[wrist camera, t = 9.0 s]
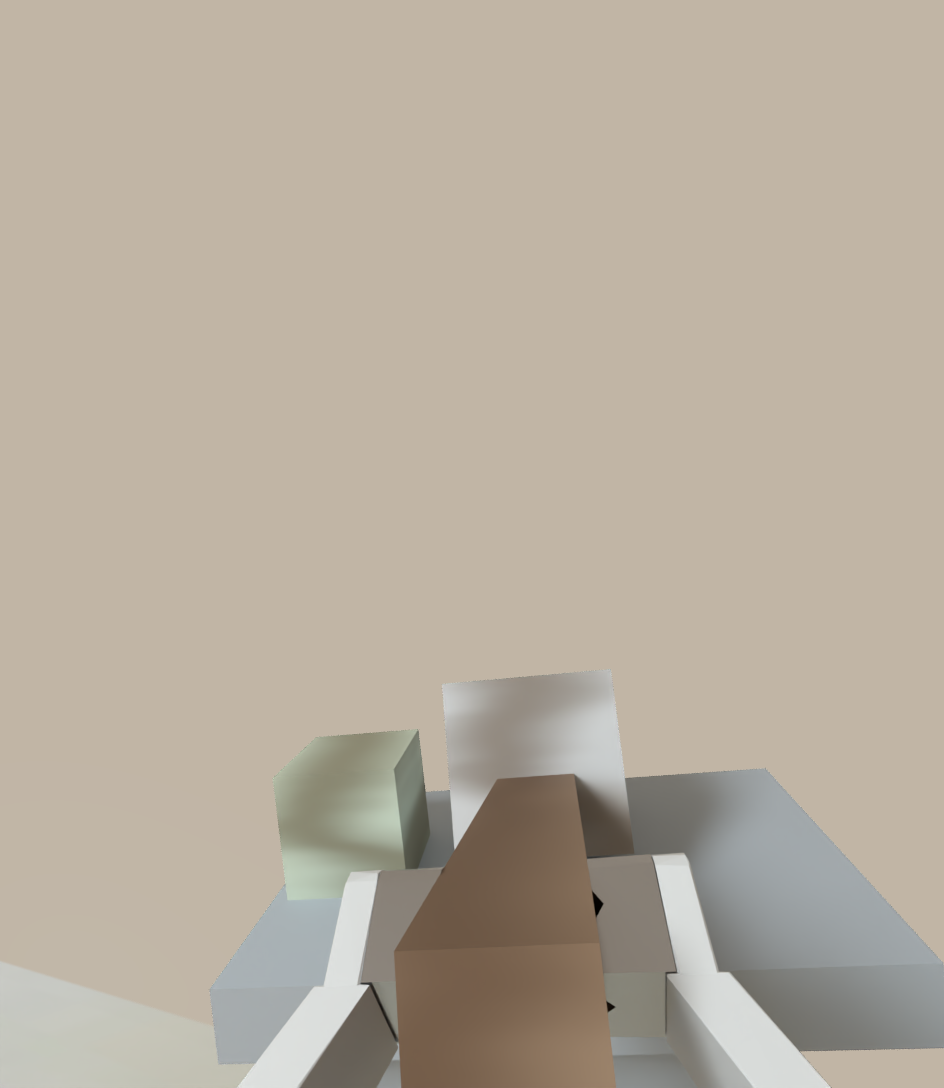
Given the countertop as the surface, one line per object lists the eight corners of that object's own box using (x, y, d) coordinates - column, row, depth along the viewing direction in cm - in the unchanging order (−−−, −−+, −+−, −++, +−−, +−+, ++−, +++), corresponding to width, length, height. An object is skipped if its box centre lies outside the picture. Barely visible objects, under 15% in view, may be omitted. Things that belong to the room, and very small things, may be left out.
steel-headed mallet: (611, 799, 26) (595, 671, 27) (778, 1192, 6) (694, 658, 7) (486, 807, 26) (475, 681, 27) (274, 1193, 7) (266, 697, 8)
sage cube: (430, 833, 24) (418, 728, 24) (408, 894, 20) (394, 769, 20) (328, 840, 25) (316, 737, 25) (287, 900, 21) (272, 778, 21)
